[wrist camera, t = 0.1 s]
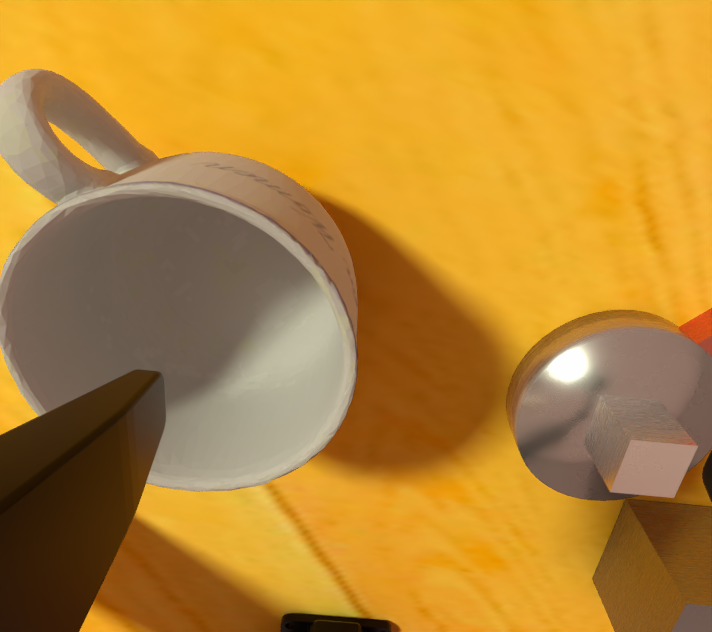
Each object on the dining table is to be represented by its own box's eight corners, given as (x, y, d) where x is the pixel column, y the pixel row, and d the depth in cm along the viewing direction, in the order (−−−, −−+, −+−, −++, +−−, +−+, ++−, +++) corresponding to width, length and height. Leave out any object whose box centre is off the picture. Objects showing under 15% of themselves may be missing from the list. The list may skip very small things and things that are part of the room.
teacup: (388, 345, 25) (398, 465, 18) (168, 399, 26) (94, 531, 19) (285, 5, 19) (238, -20, 12) (10, 98, 21) (-179, 126, 13)
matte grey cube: (696, 587, 32) (764, 699, 26) (592, 579, 31) (639, 690, 26) (738, 509, 29) (824, 615, 23) (626, 499, 29) (686, 603, 23)
